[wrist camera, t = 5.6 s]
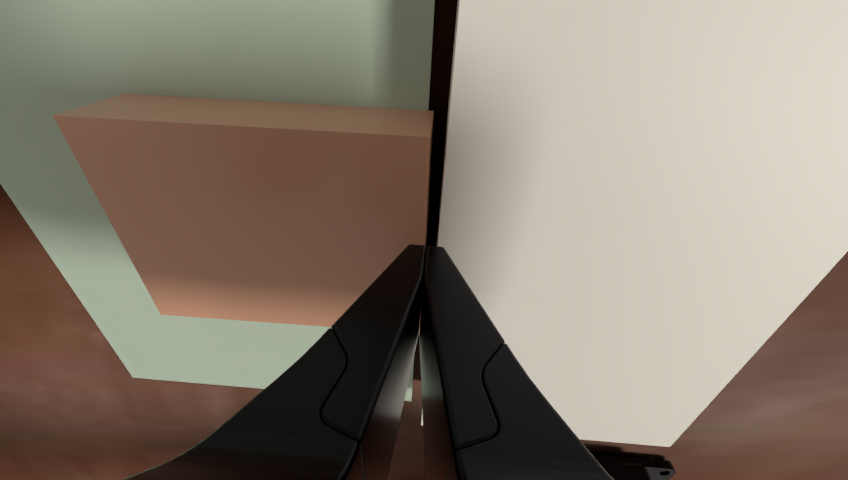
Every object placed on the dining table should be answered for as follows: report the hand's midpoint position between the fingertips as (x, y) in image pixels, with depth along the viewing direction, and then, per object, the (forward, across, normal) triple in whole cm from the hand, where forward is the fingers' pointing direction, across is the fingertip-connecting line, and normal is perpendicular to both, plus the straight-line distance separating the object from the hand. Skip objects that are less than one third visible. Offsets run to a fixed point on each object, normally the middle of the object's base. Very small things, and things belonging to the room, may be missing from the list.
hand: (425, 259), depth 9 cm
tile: (+2, +4, 0) cm, 5 cm away
